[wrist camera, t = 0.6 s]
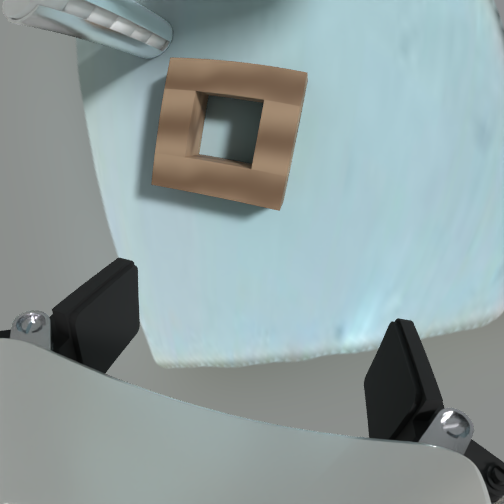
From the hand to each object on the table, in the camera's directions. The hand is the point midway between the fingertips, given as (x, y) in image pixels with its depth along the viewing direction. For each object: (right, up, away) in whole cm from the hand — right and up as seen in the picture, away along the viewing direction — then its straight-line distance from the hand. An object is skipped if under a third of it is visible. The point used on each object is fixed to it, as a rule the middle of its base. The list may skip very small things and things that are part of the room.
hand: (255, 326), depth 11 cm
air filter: (-14, +32, +25) cm, 43 cm away
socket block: (-3, +18, +28) cm, 33 cm away
